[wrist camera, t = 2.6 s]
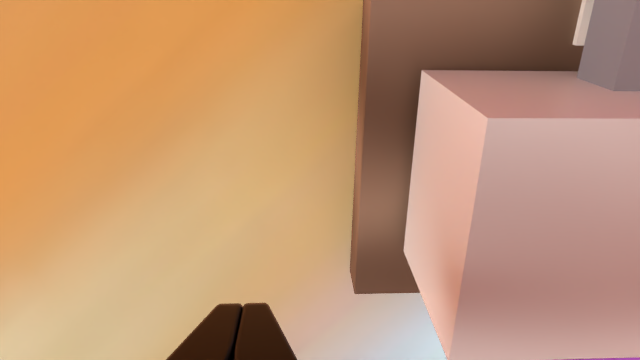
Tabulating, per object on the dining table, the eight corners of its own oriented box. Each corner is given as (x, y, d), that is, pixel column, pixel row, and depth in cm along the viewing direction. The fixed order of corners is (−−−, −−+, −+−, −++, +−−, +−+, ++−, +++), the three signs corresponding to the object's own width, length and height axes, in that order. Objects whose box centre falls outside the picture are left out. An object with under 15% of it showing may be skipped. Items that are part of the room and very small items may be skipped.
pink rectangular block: (548, 249, 16) (649, 356, 12) (403, 251, 16) (448, 362, 11) (628, -86, 12) (829, -122, 8) (437, -91, 12) (528, -132, 7)
